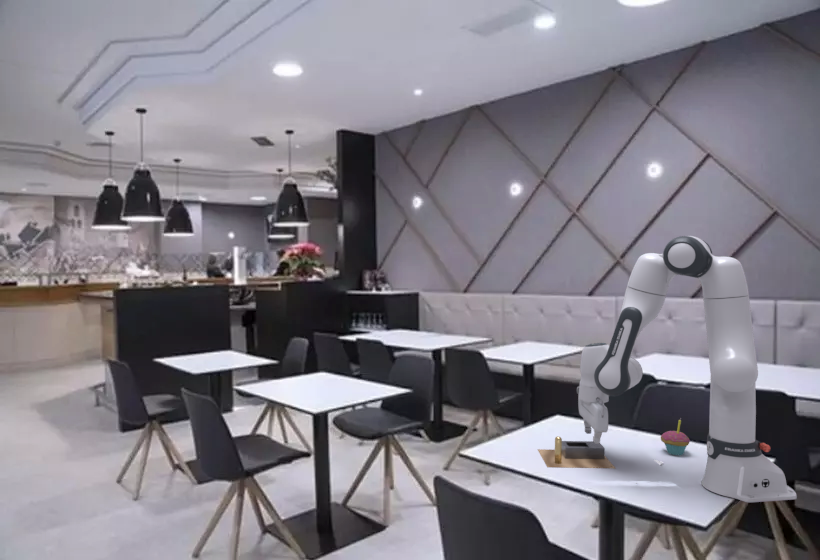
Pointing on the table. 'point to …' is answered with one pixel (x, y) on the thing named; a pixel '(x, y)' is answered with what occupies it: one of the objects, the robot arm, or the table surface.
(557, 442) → the post
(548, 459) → the oak board
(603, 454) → the steel link
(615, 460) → the table surface
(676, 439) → the cupcake
